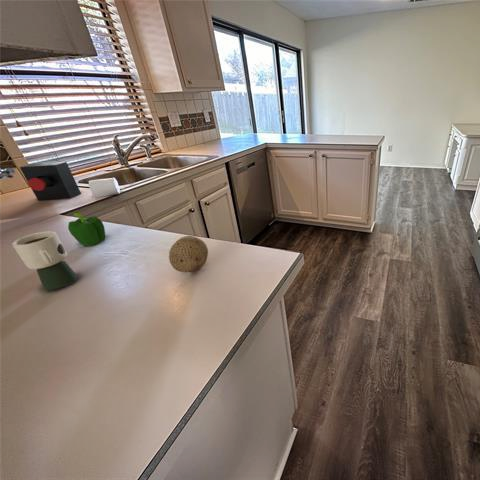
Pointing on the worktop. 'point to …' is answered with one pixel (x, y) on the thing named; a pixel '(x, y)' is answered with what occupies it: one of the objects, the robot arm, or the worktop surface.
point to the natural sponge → (188, 254)
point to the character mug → (46, 259)
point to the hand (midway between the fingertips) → (12, 170)
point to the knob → (39, 183)
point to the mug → (104, 187)
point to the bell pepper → (87, 230)
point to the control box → (52, 180)
